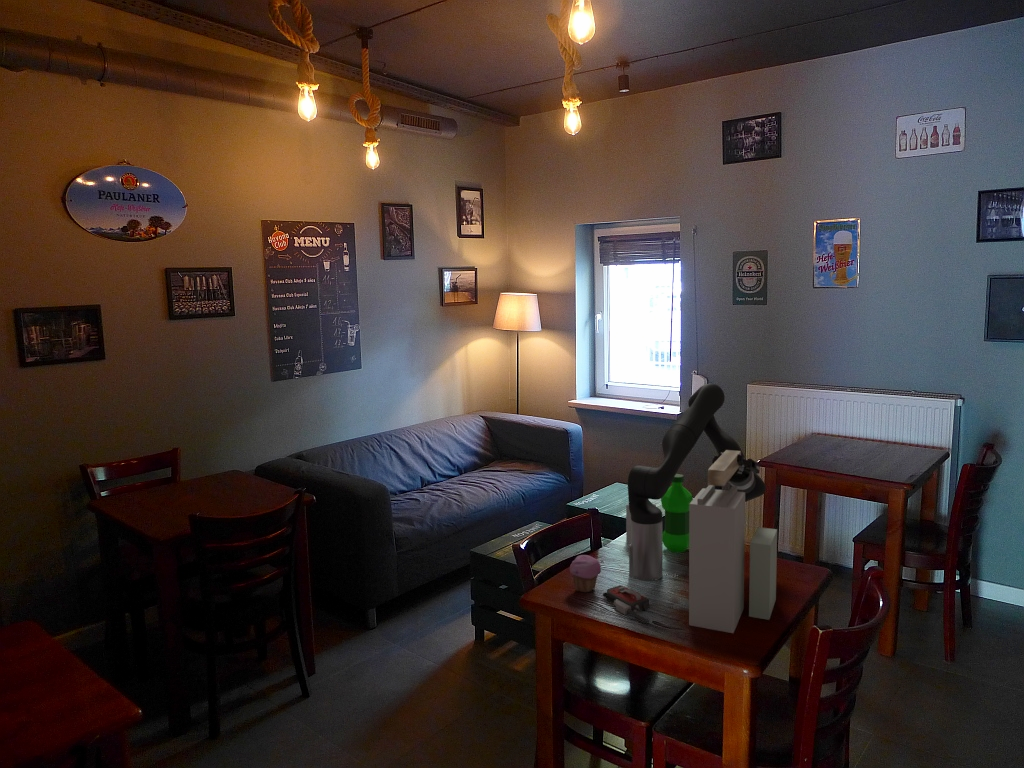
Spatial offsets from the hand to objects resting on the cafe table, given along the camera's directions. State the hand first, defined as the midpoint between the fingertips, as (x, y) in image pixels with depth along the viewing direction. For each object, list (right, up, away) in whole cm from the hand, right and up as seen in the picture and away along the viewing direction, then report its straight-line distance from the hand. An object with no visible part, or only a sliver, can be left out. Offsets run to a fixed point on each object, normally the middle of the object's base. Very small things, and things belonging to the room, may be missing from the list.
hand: (729, 456), depth 196 cm
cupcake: (-38, -40, +11) cm, 56 cm away
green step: (+7, -40, -4) cm, 41 cm away
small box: (-16, -34, +48) cm, 61 cm away
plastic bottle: (-5, -35, +40) cm, 53 cm away
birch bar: (-3, -4, -5) cm, 7 cm away
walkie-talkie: (-27, -41, -2) cm, 49 cm away
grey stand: (-6, -41, -9) cm, 42 cm away
